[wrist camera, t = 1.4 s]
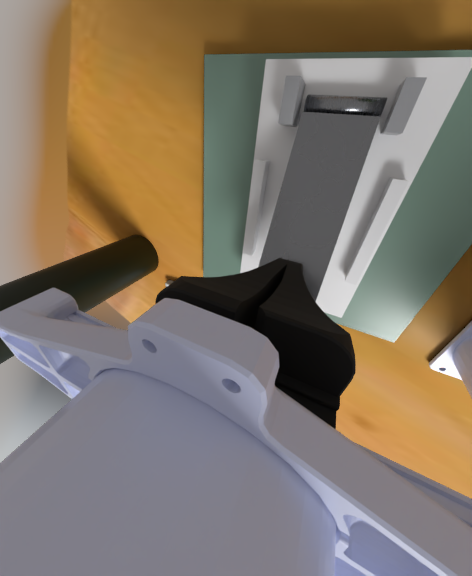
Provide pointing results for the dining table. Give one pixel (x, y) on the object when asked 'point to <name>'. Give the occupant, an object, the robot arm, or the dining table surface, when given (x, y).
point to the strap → (321, 181)
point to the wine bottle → (85, 277)
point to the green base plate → (372, 182)
